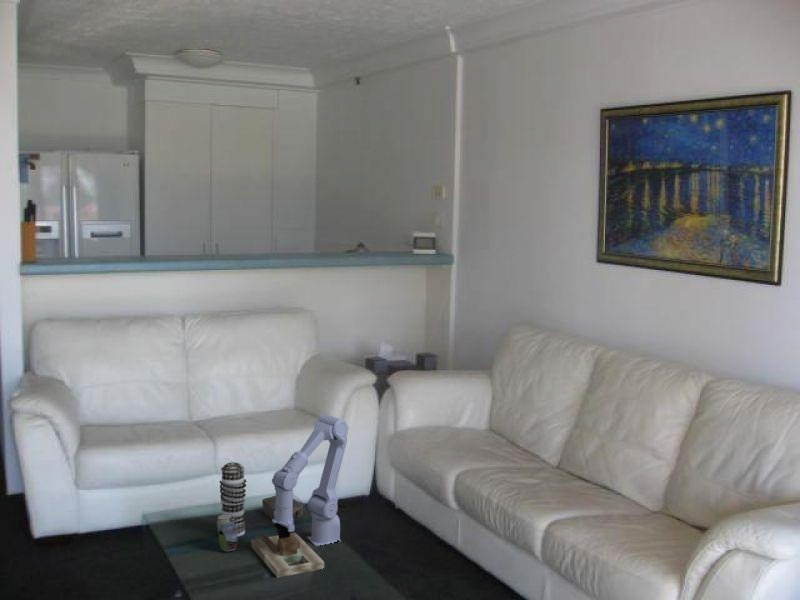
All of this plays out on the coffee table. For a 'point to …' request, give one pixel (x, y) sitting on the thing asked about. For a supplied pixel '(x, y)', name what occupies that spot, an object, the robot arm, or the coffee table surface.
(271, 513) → the geological specimen
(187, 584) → the coffee table surface
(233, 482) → the decorative candle
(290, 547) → the block
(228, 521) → the beverage can
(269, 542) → the deck
